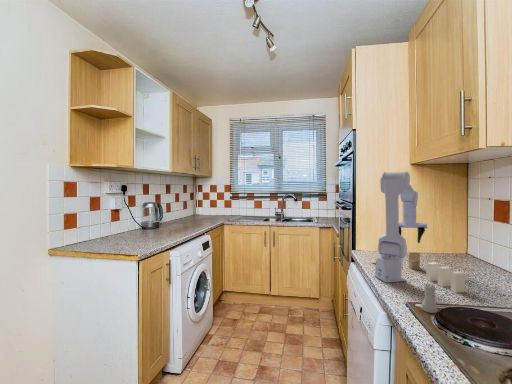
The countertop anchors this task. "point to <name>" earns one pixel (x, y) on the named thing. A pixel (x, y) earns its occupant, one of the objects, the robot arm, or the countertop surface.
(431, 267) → the domino
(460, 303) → the countertop surface
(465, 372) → the countertop surface
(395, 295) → the countertop surface
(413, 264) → the domino
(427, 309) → the rook chess piece
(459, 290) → the domino
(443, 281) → the domino
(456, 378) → the countertop surface
